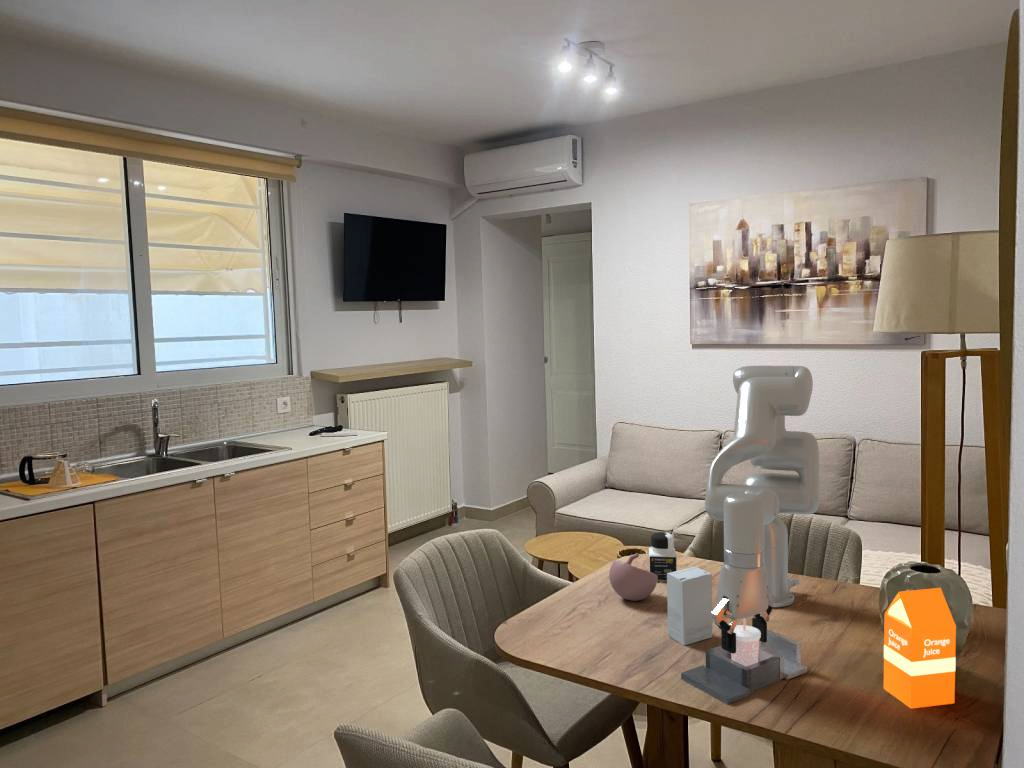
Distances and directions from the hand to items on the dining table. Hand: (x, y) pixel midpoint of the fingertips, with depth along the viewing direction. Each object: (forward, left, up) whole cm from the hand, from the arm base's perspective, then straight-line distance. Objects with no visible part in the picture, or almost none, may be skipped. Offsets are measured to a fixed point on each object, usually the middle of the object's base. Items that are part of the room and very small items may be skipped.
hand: (744, 644), depth 147 cm
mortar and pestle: (-9, -44, -6) cm, 45 cm away
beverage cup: (0, 0, -6) cm, 6 cm away
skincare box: (-4, -19, -6) cm, 20 cm away
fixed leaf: (+4, 0, -6) cm, 7 cm away
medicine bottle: (-26, -52, -6) cm, 58 cm away
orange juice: (-20, +23, -6) cm, 31 cm away
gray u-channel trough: (-7, 0, -6) cm, 10 cm away
